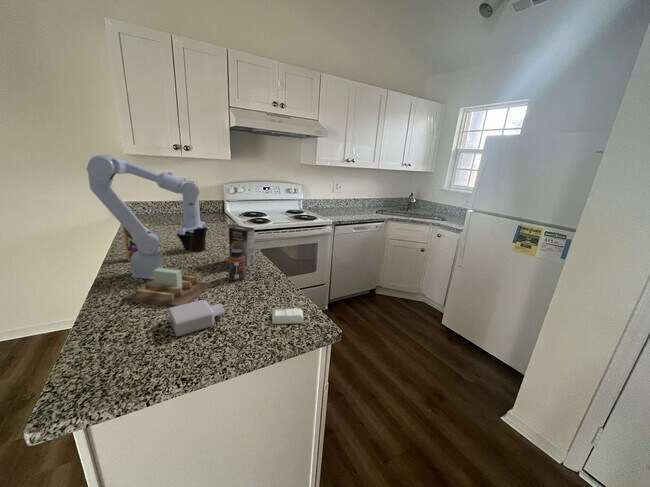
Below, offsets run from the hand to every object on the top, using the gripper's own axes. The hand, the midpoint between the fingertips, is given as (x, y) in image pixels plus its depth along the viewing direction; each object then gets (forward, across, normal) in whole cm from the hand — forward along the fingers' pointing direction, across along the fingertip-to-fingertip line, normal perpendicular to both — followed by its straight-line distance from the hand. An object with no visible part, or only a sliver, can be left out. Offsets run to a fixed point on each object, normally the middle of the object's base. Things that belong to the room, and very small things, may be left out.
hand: (194, 247), depth 107 cm
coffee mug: (+10, +24, +13) cm, 29 cm away
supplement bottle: (+10, -2, -19) cm, 21 cm away
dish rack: (+9, -20, -3) cm, 22 cm away
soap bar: (+10, -25, -45) cm, 53 cm away
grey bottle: (+10, -32, -22) cm, 40 cm away
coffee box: (+10, +14, -14) cm, 22 cm away
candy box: (+10, +4, +28) cm, 30 cm away
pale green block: (+8, -20, -3) cm, 22 cm away
